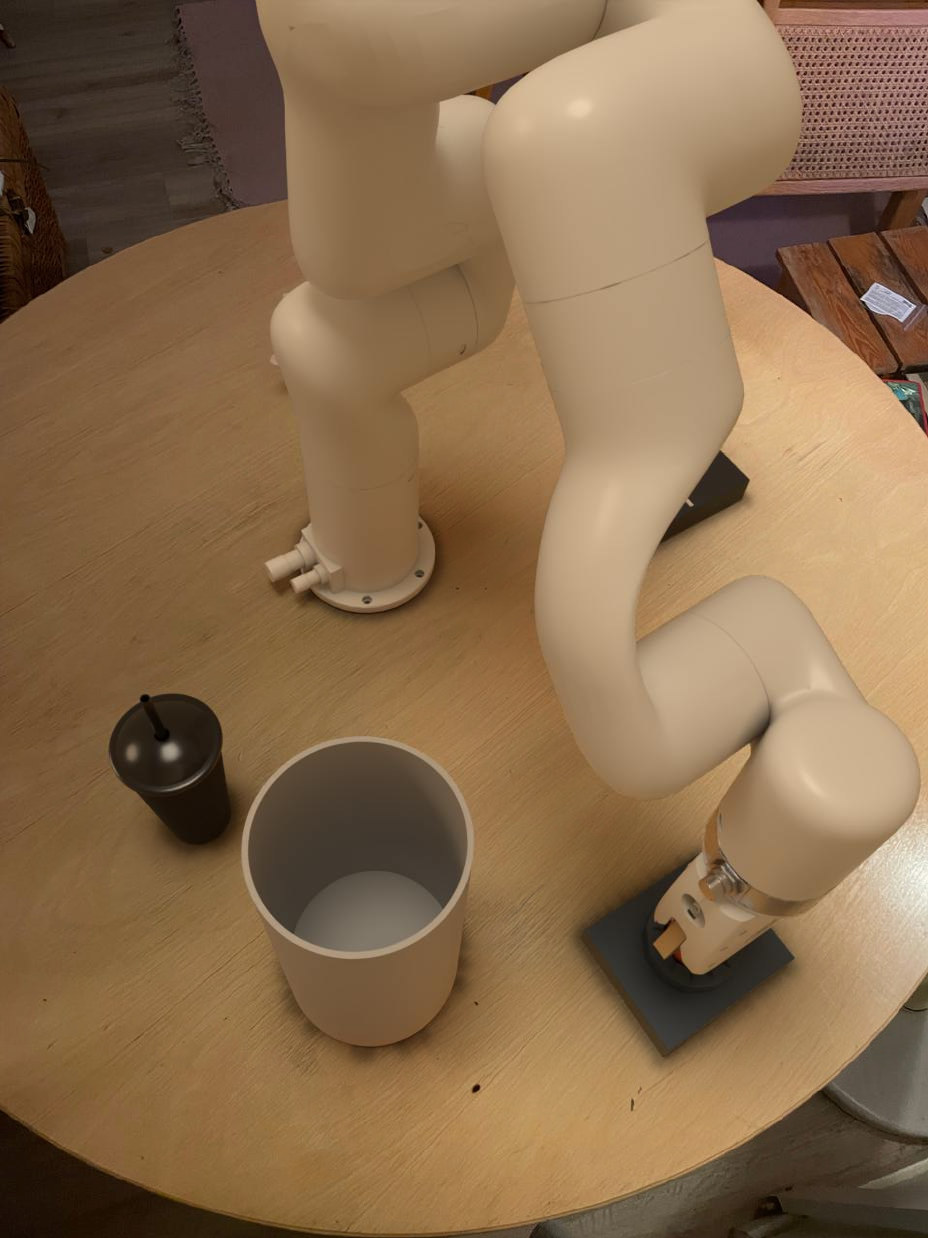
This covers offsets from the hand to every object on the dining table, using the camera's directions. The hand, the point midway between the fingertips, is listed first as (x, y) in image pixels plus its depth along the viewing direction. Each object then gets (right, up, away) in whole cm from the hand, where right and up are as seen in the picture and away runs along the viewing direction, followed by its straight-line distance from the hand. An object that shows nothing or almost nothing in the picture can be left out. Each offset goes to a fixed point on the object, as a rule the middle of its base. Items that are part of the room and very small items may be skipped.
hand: (698, 934), depth 74 cm
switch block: (0, -3, +4) cm, 5 cm away
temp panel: (+2, +35, +28) cm, 45 cm away
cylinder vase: (-24, -3, +3) cm, 24 cm away
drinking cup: (-38, +7, +9) cm, 39 cm away
